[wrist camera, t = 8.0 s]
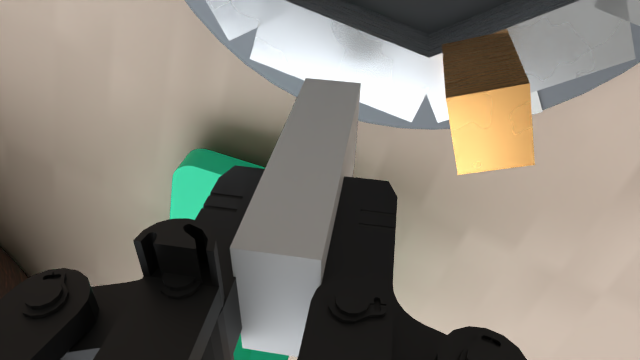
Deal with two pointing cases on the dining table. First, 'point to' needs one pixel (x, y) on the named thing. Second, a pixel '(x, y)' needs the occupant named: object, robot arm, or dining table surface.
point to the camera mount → (189, 198)
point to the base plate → (427, 16)
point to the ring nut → (444, 60)
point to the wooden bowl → (9, 274)
